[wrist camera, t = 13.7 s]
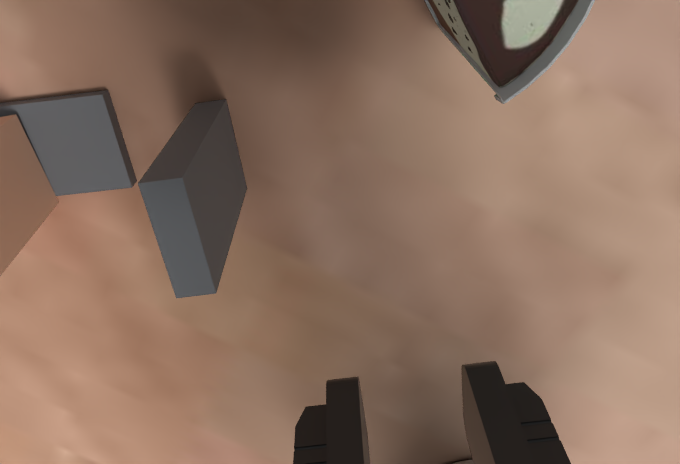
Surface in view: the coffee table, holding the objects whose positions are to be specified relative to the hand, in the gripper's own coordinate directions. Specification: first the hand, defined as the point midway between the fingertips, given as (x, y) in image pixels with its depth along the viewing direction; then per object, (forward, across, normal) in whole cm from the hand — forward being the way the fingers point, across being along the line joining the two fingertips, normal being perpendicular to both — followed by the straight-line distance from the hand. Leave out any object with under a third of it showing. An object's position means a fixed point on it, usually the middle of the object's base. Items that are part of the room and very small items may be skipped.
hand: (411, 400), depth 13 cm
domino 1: (+19, +8, 0) cm, 20 cm away
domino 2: (+19, +12, -1) cm, 23 cm away
